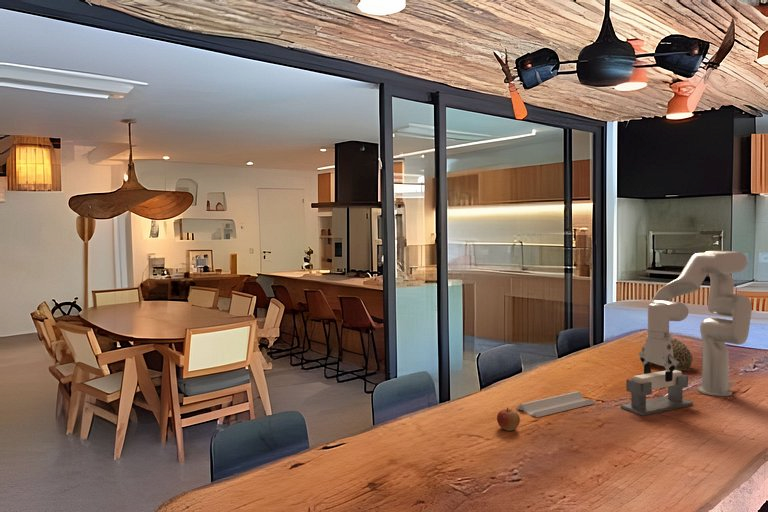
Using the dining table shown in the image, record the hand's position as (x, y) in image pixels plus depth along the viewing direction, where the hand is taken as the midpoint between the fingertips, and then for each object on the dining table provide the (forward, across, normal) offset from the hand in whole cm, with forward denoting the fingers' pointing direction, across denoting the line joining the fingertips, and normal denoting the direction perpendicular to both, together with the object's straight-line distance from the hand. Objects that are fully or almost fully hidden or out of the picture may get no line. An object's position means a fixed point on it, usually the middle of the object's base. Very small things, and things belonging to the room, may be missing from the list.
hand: (657, 378), depth 216 cm
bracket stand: (+11, 0, 0) cm, 11 cm away
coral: (+12, +41, -57) cm, 71 cm away
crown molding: (+12, +18, +36) cm, 42 cm away
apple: (+11, +6, +67) cm, 68 cm away
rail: (+3, 0, 0) cm, 3 cm away
